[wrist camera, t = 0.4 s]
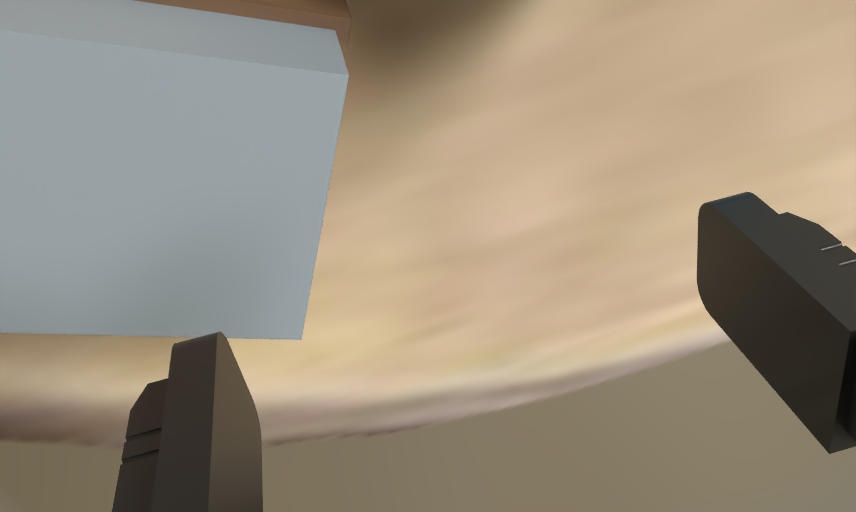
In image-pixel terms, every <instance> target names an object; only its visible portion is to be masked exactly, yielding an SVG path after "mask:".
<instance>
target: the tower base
mask: <svg viewBox="0 0 856 512" xmlns="http://www.w3.org/2000/svg"><path fill="white" fill-rule="evenodd" d="M134 1H141V2H148V3H155V4H161V5H168V6H175V7H182V8H188V9H195V10H202V11H209V12H216V13H222V14H229V15H236V16H243V17H249V18H256V19H263V20H269V21H276V22H283V23H290V24H296V25H303V26H310V27H317V28H323V29H330V30H335V31H336V34H337V38H338V41H339V44H340V48H341V51H342V54H343V57H344V60H345V54H346V49H347V43H348V37H349V32H350V26H351V20H352V18H351V15H350V12H349V10H348V7H347V4H346V1H345V0H134Z"/></svg>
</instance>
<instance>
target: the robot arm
mask: <svg viewBox="0 0 856 512" xmlns="http://www.w3.org/2000/svg"><path fill="white" fill-rule="evenodd" d="M697 285H698V290H699V294H700V297H701V300H702V302H703V304H704V306H705V308H706V310H707V311H708V313H709V314H710V315H711V317H712V318H713V319H714V320H715V321H716V322H717V324H718V325H719V326H720V327H721V328H722V329H723V331H724V332H725V333H726V334H727V335H728V336H729V338H730V339H731V340H732V341H733V342H734V343H735V345H736V346H737V347H738V348H739V349H740V350H741V352H742V353H743V354H744V355H745V356H746V357H747V359H748V360H749V361H750V362H751V363H752V364H753V366H754V367H755V368H756V369H757V370H758V371H759V373H760V374H761V375H762V376H763V377H764V378H765V380H766V381H767V382H768V383H769V384H770V385H771V387H772V388H773V389H774V390H775V391H776V392H777V393H778V395H779V396H780V397H781V398H782V399H783V400H784V401H785V403H786V404H787V405H788V406H789V408H791V410H792V411H793V412H794V413H795V415H796V416H797V417H798V418H799V419H800V420H801V421H802V423H803V424H804V425H805V426H806V427H807V428H808V430H809V431H810V432H811V433H812V434H813V435H814V437H815V438H816V439H817V440H818V441H819V442H820V444H821V445H822V446H823V447H824V448H825V449H826V451H827V452H828V453H829V454H831V453H834V452H837V451H841V450H844V449H848V448H851V447H854V446H856V253H855V252H853V251H852V250H851V249H849V248H848V247H847V246H842V243H841V241H839V240H838V239H837V238H835V237H834V236H833V235H832V234H830V233H829V232H828V231H827V230H825V229H824V228H823V227H821V226H820V225H819V224H816V223H814V222H811V221H809V220H806V219H804V218H801V217H798V216H796V215H793V214H791V213H788V212H786V213H783V214H778V213H776V212H775V211H774V210H773V209H772V208H770V207H769V206H768V205H767V204H766V203H764V202H763V201H762V200H761V199H759V198H758V197H757V196H756V195H754V194H753V193H750V192H745V193H741V194H737V195H733V196H730V197H726V198H722V199H718V200H715V201H711V202H707V203H704V204H703V205H702V206H701V208H700V210H699V216H698V251H697ZM126 440H127V442H125V443H124V448H123V454H122V462H123V464H122V465H121V466H120V470H119V476H118V481H117V487H116V492H115V498H114V503H113V509H112V512H263V496H262V448H261V430H260V424H259V419H258V415H257V411H256V407H255V404H254V401H253V399H252V396H251V394H250V392H249V389H248V387H247V385H246V382H245V380H244V378H243V375H242V373H241V371H240V368H239V366H238V364H237V361H236V359H235V357H234V354H233V352H232V350H231V347H230V345H229V343H228V341H227V339H226V337H225V335H224V334H223V333H222V332H216V333H213V334H209V335H205V336H201V337H198V338H194V339H190V340H186V341H183V342H179V343H175V344H174V345H173V347H172V353H171V361H170V369H169V376H168V378H167V379H164V380H160V381H156V382H153V383H149V384H147V386H146V387H145V389H144V391H143V392H142V394H141V395H140V397H139V398H138V400H137V401H136V403H135V404H134V406H133V407H132V409H131V410H130V416H129V421H128V427H127V432H126Z"/></svg>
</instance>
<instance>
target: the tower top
mask: <svg viewBox="0 0 856 512" xmlns="http://www.w3.org/2000/svg"><path fill="white" fill-rule="evenodd" d="M348 78H349V74H348V71H347V67H346V64H345V61H344V57H343V54H342V51H341V48H340V44H339V41H338V38H337V34H336V31H335V30H330V29H323V28H317V27H310V26H303V25H296V24H290V23H283V22H276V21H269V20H263V19H256V18H249V17H243V16H236V15H229V14H222V13H216V12H209V11H202V10H195V9H188V8H182V7H175V6H168V5H161V4H155V3H148V2H141V1H134V0H0V333H29V334H72V335H115V336H157V337H201V336H205V335H209V334H213V333H216V332H222V333H223V334H224V335H225V337H226V338H243V339H286V340H301V339H302V334H303V328H304V322H305V317H306V311H307V306H308V300H309V295H310V289H311V284H312V278H313V272H314V267H315V261H316V256H317V250H318V245H319V239H320V233H321V228H322V222H323V217H324V211H325V206H326V200H327V195H328V189H329V183H330V178H331V172H332V167H333V161H334V156H335V150H336V145H337V139H338V133H339V128H340V122H341V117H342V111H343V106H344V100H345V95H346V89H347V83H348Z"/></svg>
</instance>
